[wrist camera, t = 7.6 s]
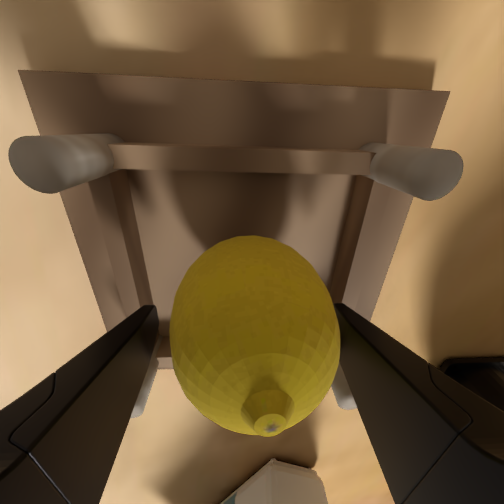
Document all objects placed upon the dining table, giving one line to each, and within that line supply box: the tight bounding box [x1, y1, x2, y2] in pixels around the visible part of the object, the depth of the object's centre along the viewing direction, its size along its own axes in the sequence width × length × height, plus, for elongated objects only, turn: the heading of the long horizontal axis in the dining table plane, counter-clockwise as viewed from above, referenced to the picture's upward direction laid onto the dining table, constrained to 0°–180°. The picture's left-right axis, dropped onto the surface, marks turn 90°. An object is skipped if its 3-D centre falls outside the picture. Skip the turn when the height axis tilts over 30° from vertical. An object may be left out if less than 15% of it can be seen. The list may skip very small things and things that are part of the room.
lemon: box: [169, 235, 340, 437], centre depth 9 cm, size 6×6×8 cm
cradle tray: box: [9, 70, 463, 418], centre depth 11 cm, size 16×16×5 cm
